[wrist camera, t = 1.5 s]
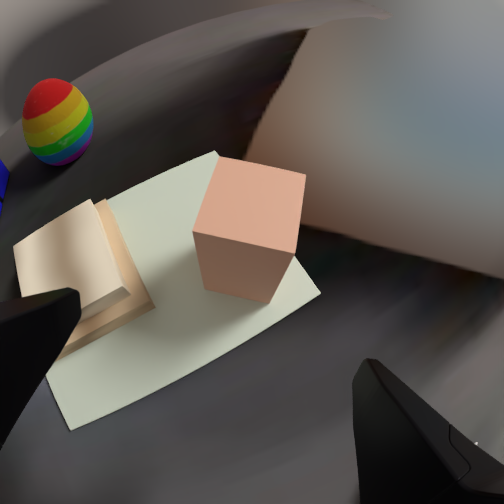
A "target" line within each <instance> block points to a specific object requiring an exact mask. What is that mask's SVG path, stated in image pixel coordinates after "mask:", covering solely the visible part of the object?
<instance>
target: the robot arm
mask: <svg viewBox="0 0 504 504" xmlns="http://www.w3.org/2000/svg"><path fill="white" fill-rule="evenodd" d="M81 315H82V310H81V299H80V293H79V291H78V290H76V289H73V288H70V287H66V288H61V289H57V290H52V291H48V292H43V293H39V294H34V295H30V296H25V297H21V298H17V299H12V300H8V301H3V302H0V450H1V448H2V445H3V444H4V442H5V441H6V439H7V437H8V435H9V433H10V432H11V430H12V428H13V426H14V425H15V423H16V421H17V420H18V418H19V416H20V415H21V413H22V411H23V410H24V408H25V406H26V405H27V403H28V402H29V400H30V398H31V397H32V395H33V394H34V392H35V391H36V389H37V387H38V386H39V384H40V383H41V381H42V380H43V378H44V377H45V375H46V374H47V372H48V371H49V369H50V368H51V367H52V365H53V364H54V362H55V361H56V359H57V358H58V356H59V355H60V353H61V352H62V350H63V348H64V347H65V345H66V343H67V341H68V339H69V338H70V336H71V334H72V332H73V331H74V329H75V327H76V326H77V324H78V322H79V321H80V319H81ZM352 391H353V429H354V438H355V447H356V456H357V466H358V477H359V490H360V504H504V465H503V464H501V463H500V462H499V461H497V460H496V459H495V458H493V457H492V456H490V455H489V454H488V453H486V452H485V451H484V450H482V449H481V448H479V447H478V446H477V445H476V444H474V443H473V442H472V441H470V440H469V439H468V438H467V437H465V436H464V435H463V434H462V433H461V432H459V431H458V430H457V429H456V428H455V427H454V426H453V425H452V424H449V422H448V421H447V420H446V419H445V418H443V417H442V416H441V415H440V414H439V413H438V412H437V411H435V410H434V409H433V408H432V407H431V406H430V405H429V404H427V403H426V402H425V401H424V400H423V399H422V398H421V397H419V396H418V395H417V394H416V393H415V392H414V391H413V390H411V389H410V388H409V387H408V386H407V385H406V384H405V383H404V382H402V381H401V380H400V379H399V378H398V377H397V376H396V375H394V374H393V373H392V372H391V371H390V370H389V369H388V368H386V367H385V366H384V365H383V364H382V363H381V362H380V361H378V360H376V359H369V358H366V359H364V360H363V362H362V363H361V365H360V367H359V369H358V371H357V373H356V375H355V376H354V379H353V383H352Z"/></svg>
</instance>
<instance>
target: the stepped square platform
mask: <svg viewBox="0 0 504 504" xmlns="http://www.w3.org/2000/svg"><path fill="white" fill-rule="evenodd" d="M13 248H14V255H15V262H16V268H17V273H18V279H19V284H20V289H21V294H22V297H25V296H30V295H34V294H39V293H43V292H48V291H52V290H57V289H61V288H66V287H70V288H73V289H76V290H78V291H79V293H80V299H81V310H82V315H81V319H80V321H79V322H78V324H77V326H76V327H75V329H74V331H73V332H72V334H71V336H70V338H69V339H68V341H67V343H66V345H65V347H64V348H63V350H62V352H61V353H60V355H59V356H58V358H57V359H56V361H58V360H60V359H62V358H63V357H65V356H67V355H69V354H71V353H73V352H75V351H76V350H78V349H80V348H82V347H84V346H86V345H88V344H89V343H91V342H93V341H95V340H97V339H99V338H101V337H102V336H104V335H106V334H108V333H110V332H112V331H113V330H115V329H117V328H119V327H121V326H123V325H125V324H126V323H128V322H130V321H132V320H134V319H136V318H138V317H139V316H141V315H143V314H145V313H147V312H149V311H150V310H152V309H154V308H156V307H155V305H154V303H153V301H152V299H151V297H150V295H149V293H148V291H147V289H146V287H145V285H144V283H143V281H142V279H141V277H140V274H139V272H138V270H137V268H136V266H135V264H134V261H133V259H132V257H131V255H130V252H129V250H128V248H127V245H126V243H125V241H124V238H123V236H122V234H121V231H120V229H119V226H118V224H117V222H116V219H115V217H114V214H113V211H112V210H111V208H110V206H109V204H108V202H107V201H106V199H104V200H102V201H100V202H99V203H97V204H95V205H93V203H92V201H91V200H90V199H89V200H87V201H85V202H84V203H82V204H80V205H78V206H76V207H75V208H73V209H71V210H70V211H68V212H66V213H64V214H63V215H61V216H59V217H58V218H56V219H54V220H53V221H51V222H50V223H48V224H46V225H45V226H43V227H42V228H40V229H38V230H37V231H35V232H34V233H32V234H31V235H29V236H28V237H26V238H25V239H23V240H22V241H20V242H19V243H17V244H16V245H15V246H13ZM56 361H55V362H56Z"/></svg>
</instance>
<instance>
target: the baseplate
mask: <svg viewBox="0 0 504 504" xmlns="http://www.w3.org/2000/svg"><path fill="white" fill-rule="evenodd" d="M219 157H220V156H219V155H218V154H217V153H216V151H213V152H210V153H208V154H205V155H203V156H201V157H198V158H196V159H193V160H191V161H189V162H186V163H184V164H182V165H179V166H177V167H175V168H173V169H170V170H168V171H166V172H164V173H162V174H159V175H157V176H155V177H153V178H151V179H149V180H147V181H145V182H143V183H140V184H138V185H136V186H134V187H132V188H130V189H128V190H126V191H124V192H122V193H120V194H118V195H117V196H115V197H113V198H111V199H109V200H107V202H108V204H109V206H110V208H111V210H112V211H113V214H114V217H115V219H116V222H117V224H118V226H119V229H120V231H121V234H122V236H123V238H124V241H125V243H126V245H127V248H128V250H129V252H130V255H131V257H132V259H133V261H134V264H135V266H136V268H137V270H138V272H139V274H140V277H141V279H142V281H143V283H144V285H145V287H146V289H147V291H148V293H149V295H150V297H151V299H152V301H153V303H154V305H155V307H156V308H154V309H152V310H150V311H149V312H147V313H145V314H143V315H141V316H139V317H138V318H136V319H134V320H132V321H130V322H128V323H126V324H125V325H123V326H121V327H119V328H117V329H115V330H113V331H112V332H110V333H108V334H106V335H104V336H102V337H101V338H99V339H97V340H95V341H93V342H91V343H89V344H88V345H86V346H84V347H82V348H80V349H78V350H76V351H75V352H73V353H71V354H69V355H67V356H65V357H63V358H62V359H60V360H58V361H56V362H54V364H53V365H52V367H51V368H50V369H49V371H48V372H47V374H46V377H47V380H48V382H49V385H50V387H51V390H52V392H53V394H54V397H55V399H56V401H57V403H58V406H59V408H60V410H61V412H62V414H63V416H64V418H65V420H66V423H67V425H68V427H69V428H70V430H74V429H76V428H79V427H81V426H83V425H86V424H88V423H90V422H92V421H95V420H97V419H99V418H101V417H104V416H106V415H108V414H110V413H112V412H114V411H117V410H119V409H121V408H123V407H125V406H127V405H129V404H131V403H133V402H135V401H137V400H139V399H141V398H144V397H146V396H148V395H150V394H151V393H153V392H155V391H157V390H159V389H161V388H163V387H165V386H167V385H169V384H171V383H173V382H175V381H177V380H178V379H180V378H182V377H184V376H186V375H188V374H190V373H191V372H193V371H195V370H197V369H199V368H201V367H202V366H204V365H206V364H208V363H209V362H211V361H213V360H215V359H217V358H218V357H220V356H222V355H224V354H225V353H227V352H229V351H230V350H232V349H234V348H236V347H237V346H239V345H241V344H242V343H244V342H246V341H247V340H249V339H251V338H252V337H254V336H256V335H257V334H259V333H261V332H262V331H264V330H265V329H267V328H269V327H270V326H272V325H273V324H275V323H277V322H278V321H280V320H281V319H283V318H285V317H286V316H288V315H289V314H291V313H292V312H294V311H295V310H297V309H298V308H300V307H302V306H303V305H305V304H306V303H308V302H309V301H311V300H312V299H314V298H315V297H317V296H318V295H320V291H319V290H318V288H317V287H316V286H315V284H314V283H313V281H312V280H311V279H310V277H309V276H308V274H307V273H306V272H305V270H304V269H303V267H302V266H301V265H300V263H299V262H298V260H297V259H296V258H295V256H294V257H293V259H292V261H291V263H290V265H289V267H288V269H287V270H286V272H285V274H284V276H283V278H282V280H281V282H280V284H279V286H278V288H277V290H276V292H275V294H274V296H273V298H272V300H271V302H270V303H269V304H268V303H264V302H259V301H254V300H250V299H245V298H241V297H236V296H232V295H227V294H223V293H219V292H214V291H210V290H206V289H204V285H203V280H202V276H201V271H200V266H199V262H198V257H197V252H196V248H195V243H194V238H193V233H192V230H193V227H194V224H195V221H196V218H197V216H198V213H199V210H200V207H201V204H202V201H203V199H204V196H205V193H206V190H207V188H208V185H209V182H210V180H211V177H212V174H213V172H214V169H215V166H216V164H217V161H218V159H219Z"/></svg>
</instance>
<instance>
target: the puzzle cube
mask: <svg viewBox="0 0 504 504" xmlns="http://www.w3.org/2000/svg"><path fill="white" fill-rule="evenodd" d="M9 174H10V172H9V171H8V169H7V168H6V167H5V165H4V164H3V162H2V161H1V160H0V214H1V209H2V202H3V199H4V194H5V190H6V186H7V182H8V178H9Z"/></svg>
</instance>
